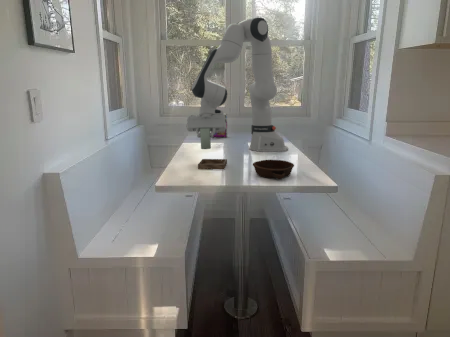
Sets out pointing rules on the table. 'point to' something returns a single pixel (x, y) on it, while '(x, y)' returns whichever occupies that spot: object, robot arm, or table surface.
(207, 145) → the sage ceramic canister
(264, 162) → the dish
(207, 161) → the walnut tray
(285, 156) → the table surface
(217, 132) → the candy bar box
